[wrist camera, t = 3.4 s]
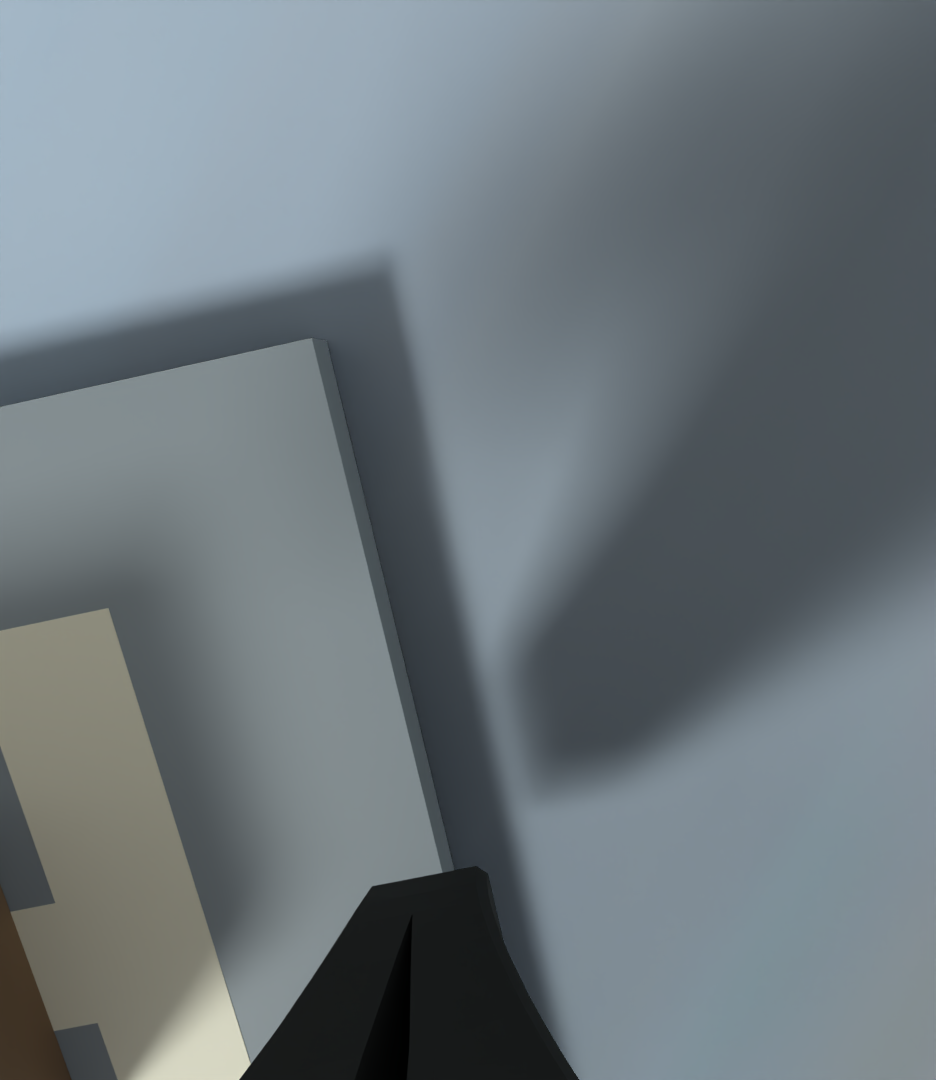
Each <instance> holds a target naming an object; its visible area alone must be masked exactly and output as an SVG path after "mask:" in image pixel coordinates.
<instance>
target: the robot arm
mask: <svg viewBox="0 0 936 1080" xmlns="http://www.w3.org/2000/svg"><path fill="white" fill-rule="evenodd" d="M239 1080H579V1079H578V1077H577V1076H576V1074H575V1073H574V1071H573V1070H572V1068H571V1067H570V1065H569V1063H568V1062H567V1060H566V1059H565V1057H564V1055H563V1054H562V1052H561V1051H560V1049H559V1047H558V1046H557V1044H556V1042H555V1041H554V1039H553V1037H552V1036H551V1034H550V1032H549V1030H548V1029H547V1027H546V1025H545V1024H544V1022H543V1020H542V1019H541V1017H540V1015H539V1013H538V1011H537V1009H536V1008H535V1006H534V1004H533V1002H532V1000H531V998H530V997H529V995H528V993H527V991H526V989H525V987H524V985H523V982H522V980H521V978H520V976H519V974H518V972H517V970H516V968H515V966H514V964H513V962H512V960H511V958H510V956H509V953H508V951H507V949H506V946H505V944H504V941H503V937H502V933H501V928H500V924H499V920H498V915H497V911H496V907H495V902H494V898H493V894H492V890H491V885H490V881H489V877H488V874H487V873H486V872H484V871H483V870H481V869H480V868H478V867H477V866H475V867H469V868H464V869H459V870H454V871H449V872H443V873H438V874H433V875H428V876H423V877H417V878H412V879H407V880H402V881H397V882H391V883H386V884H381V885H376V886H372V887H371V888H370V890H369V891H368V893H367V894H366V896H365V897H364V899H363V900H362V901H361V903H360V904H359V906H358V907H357V909H356V910H355V912H354V913H353V915H352V917H351V918H350V920H349V921H348V923H347V924H346V926H345V928H344V929H343V931H342V932H341V934H340V935H339V937H338V938H337V940H336V942H335V943H334V945H333V946H332V948H331V949H330V951H329V952H328V954H327V956H326V957H325V959H324V960H323V962H322V963H321V965H320V966H319V968H318V969H317V971H316V972H315V974H314V975H313V977H312V978H311V980H310V981H309V983H308V984H307V986H306V987H305V989H304V990H303V992H302V993H301V995H300V996H299V997H298V999H297V1000H296V1002H295V1003H294V1005H293V1006H292V1008H291V1009H290V1011H289V1012H288V1014H287V1015H286V1017H285V1018H284V1020H283V1021H282V1022H281V1024H280V1025H279V1027H278V1028H277V1030H276V1031H275V1032H274V1034H273V1035H272V1037H271V1038H270V1039H269V1041H268V1042H267V1043H266V1045H265V1046H264V1047H263V1049H262V1050H261V1051H260V1053H259V1054H258V1055H257V1057H256V1058H255V1059H254V1061H253V1062H252V1063H251V1065H250V1066H249V1067H248V1069H247V1070H246V1071H245V1073H244V1074H243V1075H242V1077H241V1078H240V1079H239Z"/></svg>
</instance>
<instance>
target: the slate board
mask: <svg viewBox="0 0 936 1080" xmlns="http://www.w3.org/2000/svg"><path fill="white" fill-rule="evenodd" d="M449 871H454V866H453V862H452V858H451V854H450V850H449V846H448V841H447V837H446V833H445V829H444V825H443V821H442V817H441V812H440V808H439V804H438V800H437V796H436V792H435V788H434V783H433V779H432V775H431V771H430V767H429V763H428V759H427V754H426V750H425V746H424V742H423V738H422V734H421V730H420V725H419V721H418V717H417V713H416V709H415V705H414V701H413V696H412V692H411V688H410V684H409V680H408V676H407V672H406V667H405V663H404V659H403V655H402V651H401V647H400V643H399V638H398V634H397V630H396V626H395V622H394V618H393V614H392V609H391V605H390V601H389V597H388V593H387V589H386V585H385V580H384V576H383V572H382V568H381V564H380V560H379V556H378V551H377V547H376V543H375V539H374V535H373V531H372V527H371V522H370V518H369V514H368V510H367V506H366V502H365V498H364V493H363V489H362V485H361V481H360V477H359V473H358V469H357V464H356V460H355V456H354V452H353V448H352V444H351V440H350V435H349V431H348V427H347V423H346V419H345V415H344V411H343V406H342V402H341V398H340V394H339V390H338V386H337V382H336V377H335V373H334V369H333V365H332V361H331V357H330V353H329V348H328V344H327V341H326V340H321V339H315V338H309V339H304V340H300V341H295V342H291V343H286V344H282V345H277V346H273V347H268V348H264V349H259V350H255V351H250V352H246V353H241V354H237V355H232V356H228V357H223V358H218V359H214V360H209V361H205V362H200V363H196V364H191V365H187V366H182V367H178V368H173V369H169V370H164V371H160V372H155V373H151V374H146V375H142V376H137V377H133V378H128V379H124V380H119V381H115V382H110V383H106V384H101V385H97V386H92V387H88V388H83V389H79V390H74V391H70V392H65V393H61V394H56V395H52V396H47V397H42V398H38V399H33V400H29V401H24V402H20V403H15V404H11V405H6V406H2V407H0V885H1V888H2V890H3V893H4V896H5V899H6V901H7V904H8V907H9V910H10V912H11V915H12V918H13V921H14V923H15V926H16V929H17V932H18V934H19V937H20V940H21V942H22V945H23V948H24V951H25V953H26V956H27V959H28V962H29V964H30V967H31V970H32V973H33V975H34V978H35V981H36V984H37V986H38V989H39V992H40V995H41V997H42V1000H43V1003H44V1005H45V1008H46V1011H47V1014H48V1016H49V1019H50V1022H51V1025H52V1027H53V1030H54V1033H55V1036H56V1038H57V1041H58V1044H59V1046H60V1049H61V1052H62V1055H63V1057H64V1060H65V1063H66V1066H67V1068H68V1071H69V1074H70V1077H71V1079H72V1080H239V1079H240V1078H241V1077H242V1075H243V1074H244V1073H245V1071H246V1070H247V1069H248V1067H249V1066H250V1065H251V1063H252V1062H253V1061H254V1059H255V1058H256V1057H257V1055H258V1054H259V1053H260V1051H261V1050H262V1049H263V1047H264V1046H265V1045H266V1043H267V1042H268V1041H269V1039H270V1038H271V1037H272V1035H273V1034H274V1032H275V1031H276V1030H277V1028H278V1027H279V1025H280V1024H281V1022H282V1021H283V1020H284V1018H285V1017H286V1015H287V1014H288V1012H289V1011H290V1009H291V1008H292V1006H293V1005H294V1003H295V1002H296V1000H297V999H298V997H299V996H300V995H301V993H302V992H303V990H304V989H305V987H306V986H307V984H308V983H309V981H310V980H311V978H312V977H313V975H314V974H315V972H316V971H317V969H318V968H319V966H320V965H321V963H322V962H323V960H324V959H325V957H326V956H327V954H328V952H329V951H330V949H331V948H332V946H333V945H334V943H335V942H336V940H337V938H338V937H339V935H340V934H341V932H342V931H343V929H344V928H345V926H346V924H347V923H348V921H349V920H350V918H351V917H352V915H353V913H354V912H355V910H356V909H357V907H358V906H359V904H360V903H361V901H362V900H363V899H364V897H365V896H366V894H367V893H368V891H369V890H370V888H371V887H372V886H376V885H381V884H386V883H391V882H397V881H402V880H407V879H412V878H417V877H423V876H428V875H433V874H438V873H443V872H449Z"/></svg>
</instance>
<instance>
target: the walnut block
mask: <svg viewBox="0 0 936 1080" xmlns="http://www.w3.org/2000/svg"><path fill="white" fill-rule="evenodd" d="M0 1080H72V1079H71V1077H70V1074H69V1071H68V1068H67V1066H66V1063H65V1060H64V1057H63V1055H62V1052H61V1049H60V1046H59V1044H58V1041H57V1038H56V1036H55V1033H54V1030H53V1027H52V1025H51V1022H50V1019H49V1016H48V1014H47V1011H46V1008H45V1005H44V1003H43V1000H42V997H41V995H40V992H39V989H38V986H37V984H36V981H35V978H34V975H33V973H32V970H31V967H30V964H29V962H28V959H27V956H26V953H25V951H24V948H23V945H22V942H21V940H20V937H19V934H18V932H17V929H16V926H15V923H14V921H13V918H12V915H11V912H10V910H9V907H8V904H7V901H6V899H5V896H4V893H3V890H2V888H1V885H0Z"/></svg>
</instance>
